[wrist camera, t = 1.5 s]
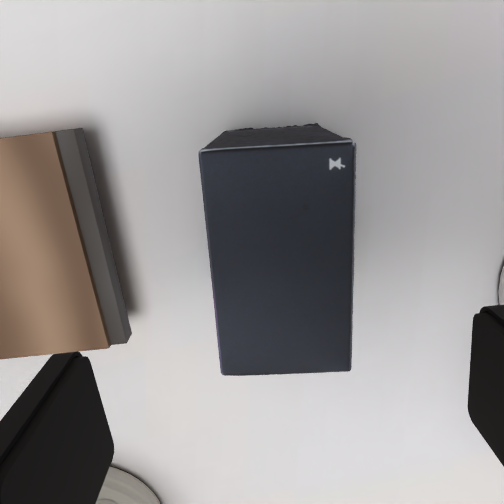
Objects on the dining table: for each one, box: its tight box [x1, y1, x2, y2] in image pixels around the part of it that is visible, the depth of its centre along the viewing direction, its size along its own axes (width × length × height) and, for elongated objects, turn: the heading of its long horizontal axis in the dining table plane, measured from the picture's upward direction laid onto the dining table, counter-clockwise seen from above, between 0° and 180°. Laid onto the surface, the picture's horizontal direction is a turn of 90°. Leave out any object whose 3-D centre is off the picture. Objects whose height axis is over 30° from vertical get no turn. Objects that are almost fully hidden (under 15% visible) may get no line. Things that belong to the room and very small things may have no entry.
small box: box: [199, 123, 356, 376], centre depth 22 cm, size 11×6×10 cm, turn 4°
